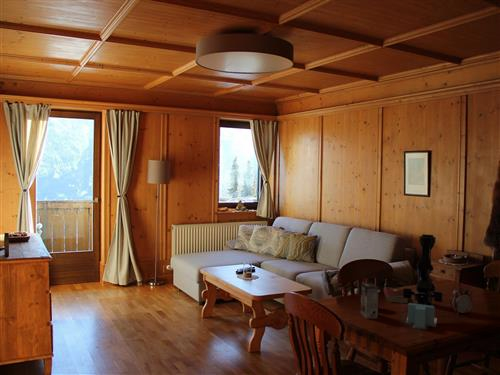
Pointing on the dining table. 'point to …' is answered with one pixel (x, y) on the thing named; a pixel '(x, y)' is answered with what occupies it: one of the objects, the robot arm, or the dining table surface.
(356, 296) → the dining table surface
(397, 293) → the hardcover book
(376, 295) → the coffee box
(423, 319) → the T block
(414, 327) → the mat
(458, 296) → the alarm clock
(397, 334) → the dining table surface
